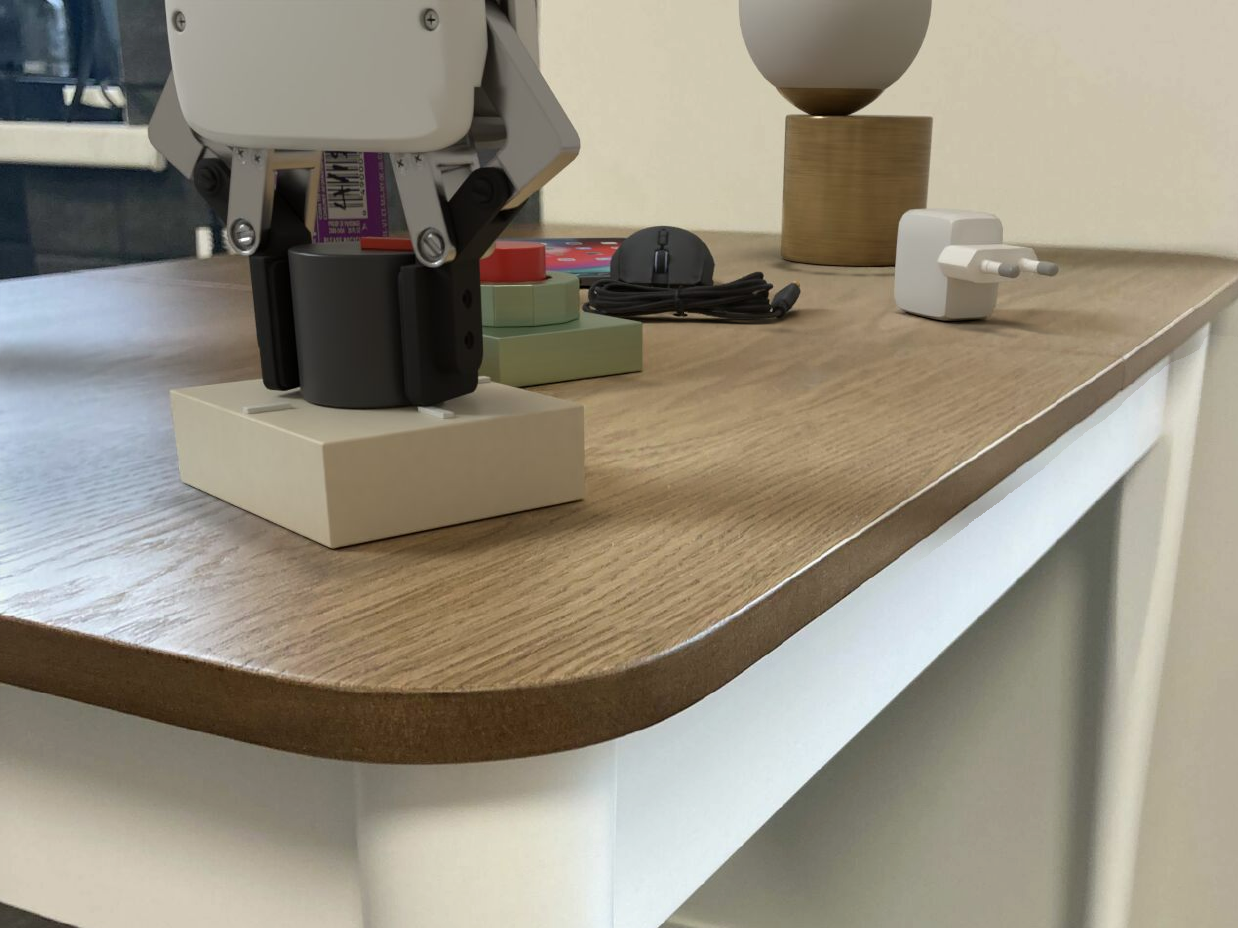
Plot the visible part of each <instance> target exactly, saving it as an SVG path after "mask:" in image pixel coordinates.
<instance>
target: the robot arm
mask: <svg viewBox="0 0 1238 928" xmlns="http://www.w3.org/2000/svg"><path fill="white" fill-rule="evenodd" d="M164 6H165V7H164V8H165V16H166V18H165V19H166V29H167V30H166V31H167V39H168V46H169V54H170V61H171V70H170V72H169V74H168V76H167V79H166V82H165V84H164V87H163V89H162V92H161V94H160V96H159V98H158V101H157V103H156V106H155V108H154V110H153V113H152V116H151V117H150V120H149V123H148V125H147V137H148V140H149V142H150V145H151V146H152V147H153V149H155V151H157V152H158V153H159V154H160V155H161V156H162V157H163V158H164V159H166V160H167V161H168V163H170V164H171V165H172V166H173V167H174V168H175V169H177V170H178V171H179V172H180V173H181V174H182V175H183V176H184V177H185V178H186V179H187V180H192V181H193V184H194V186H195V189H196V191H197V192H198V193H199V195H200V196H201V197H202V199H203V200H204V201H205V202H206V203H207V204H208V206H209V207H210V209H212V210H213V212H214V213H215V214H216V215H217V216H218V218H219V219H220V220H221V221H222V222H223V224H224V225H225V226H226V237H227V241H228V243H229V245H230V247H231V248H232V250H233V251H234V252H235V253H236V254H238V255H240V256H244V257H248V263H249V272H250V273H249V274H250V283H251V293H252V302H253V311H254V312H253V313H254V322H255V332H256V341H257V346H258V349H259V356H260V368H261V379H263V383H264V385H265V387H266V388H267V389H269V390H277V391H287V390H291V389H295V388H299V387H300V380H299V369H298V358H297V346H296V335H295V324H294V313H293V302H292V291H291V280H290V269H289V258H288V250H289V248H291V247H294V246H298V245H304V244H312V239H313V235H314V227H315V218H316V209H317V199H318V190H319V181H320V172H321V163H322V153H323V151H353V152H384V153H388V154H389V158H390V162H391V166H392V171H393V174H394V178H395V179H394V180H395V182H396V185H397V191H398V194H399V198H400V202H401V205H402V209H403V215H404V217H405V222H406V224H407V225H406V226H407V229H408V233H409V234H408V235H409V238H411V242H412V246H413V250H414V252H415V261H416V264H414V265H408V266H402V267H400V268H401V271H400V273H399V275H398V291H399V306H400V322H401V338H402V354H403V369H404V385H405V395H406V397H407V398H408V399H409V400H410V401H411V403H412V404H414V405H423V406H432V405H435V404H439V403H442V402H445V401H448V400H451V399H454V398H457V397H460V396H463V395H466V394H470V393H472V392H474V391H475V390H476V388H477V385H478V370H479V368H480V366H481V364H482V360H483V331H482V307H481V284H480V259H485V258H487V257H489V256H490V255H491V254H492V253H493V252H494V250H495V247H496V242H497V239H499V237H500V236H501V234H503V232H504V231H505V230H506V229H507V227H508V226H509V225H510V223H511V222H512V221H513V220H514V219H515V217H516V216H517V215H518V214H519V213H520V211H521V210H522V209H523V208H524V207H525V206H526V204H527V202H528V201H529V199H530V197H531V196H532V195H533V194H534V193H535V192H539V191H540V190H541V189H542V188H543V187H544V186H545V185H547V184H548V183H549V182H550V181H551V180H553V179H554V178H556V176H557V175H559V173H561V172H562V171H563V170H565V168H566V167H568V166H569V165H571V163H572V162H574V161H575V159H576V158H577V157H578V156H579V154H580V151H581V138H580V136H579V133H578V130H577V129H576V128H575V127H574V126H575V125H573V123H572V121H571V120H570V118H569V117H568V115H567V113H566V112H565V110H564V109H563V107H562V105H561V104H560V102H559V100H558V99H557V97H556V95H555V94H554V92H553V90H552V89H551V87H550V86H549V84H548V81H546V79H545V78H544V76H543V74H542V72H541V68H540V52H539V51H540V50H539V49H540V48H539V34H538V33H539V32H538V23H537V8H536V0H164ZM230 147H232V149H231V148H230ZM491 149H492V150H493V149H499V150H498V151H497V152H496V153H495V154H494V157H493V158H491V159H490V161H488V162H487V163H486V164H485V165H484V166H483V167H481V164H480V160H479V156H478V151H477V150H491ZM274 170H278V172H277V182H276V190H275V189H274V188H275V177H276V171H274Z"/></svg>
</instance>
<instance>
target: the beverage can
mask: <svg viewBox="0 0 1238 928" xmlns="http://www.w3.org/2000/svg"><path fill="white" fill-rule="evenodd" d="M385 163H386V161H385V152H353V151H323V153H322V163H321V172H320V181H319V190H318V199H317V209H316V218H315V227H314V235H313V239H312V243H325V242H347V241H360V238H364V237H390V227H389V226H390V225H389V212H388V211H389V209H388V195H387V179H386V178H387V177H386V164H385ZM274 171H276V177H275V188H274V189H275V190H276V182H277V172H278V170H274Z"/></svg>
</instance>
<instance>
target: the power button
mask: <svg viewBox="0 0 1238 928" xmlns="http://www.w3.org/2000/svg"><path fill="white" fill-rule="evenodd" d="M542 280H546V251H545V245H544V244H541V243H535V242H523V241H497V242H496V247H495V250H494V252H493V253H492V254H491V255H490V256H489V257H487V258H485V259H480V281H484V282H530V281H542Z"/></svg>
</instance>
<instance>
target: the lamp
mask: <svg viewBox="0 0 1238 928" xmlns="http://www.w3.org/2000/svg"><path fill="white" fill-rule="evenodd" d="M932 7H933V0H738V18H739V19H738V20H739V27H740V31H741V35H742V40H743V43H744V46H745V48H746V51H747V53H748V56H749V57H750V59H751V61H752V63H753V65H754V66H755V67H756V69H757V70H758V72H759V73H760V74H761V76H762V77H763V78H764V79H765V80H766V81H767V82H768V83H770V84H771V85H772V86H773V87H774V88H775V89H776V91H777V92H778V93H779V94H780V96H781V97H782V98H783V99H784V100H786V101H787V102H788V103H789V104H791V105H792V106H793V107H794V108H796V109H798V110H799V111H801V112H802V113H797V114H796V113H795V114H794V113H793V114H786V115H785V119H784V120H785V121H784V122H785V123H784V125H785V126H784V147H783V148H784V150H783V152H784V153H783V176H782V177H783V178H782V179H783V180H782V183H783V184H782V203H781V204H782V207H781V235H780V257H781V259H784V260H786V261H789V262H794V263H801V264H802V263H803V264H810V265H822V266H823V265H824V266H839V267H840V266H843V267H889V266H895V265H896V250H897V238H898V228H899V222H900V220H901V218H902V216H903V214H904V213H905V212H907V211H909V210H913V209H928V197H929V185H930V184H929V182H930V171H931V170H930V169H931V158H932V157H931V155H932V144H933V143H932V141H933V127H934V117H933V116H930V115H929V116H928V115H904V114H903V115H899V114H894V115H893V114H855V113H857V112H859V111H861V110H863V109H864V108H866V107H868V106H869V105H871V104H872V103H873V102H875V101H876V100H877V99H878V98H880V97H881V95H883V93H884V92H885V91H886V90H887V89H888V88H890V87H891V86H893V85H894V84H895V83H896V82H897V81H898V80H900V79H901V77H903V75H904V74H905V73H906V72H907V71H908V69H909V68H910V67H911V65H912V64H913V62H914V61H915V59H916V57H917V55H918V54H919V52H920V50H921V48H922V45H923V43H924V41H925V38H926V35H927V32H928V29H929V25H930V20H931V15H932Z"/></svg>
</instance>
